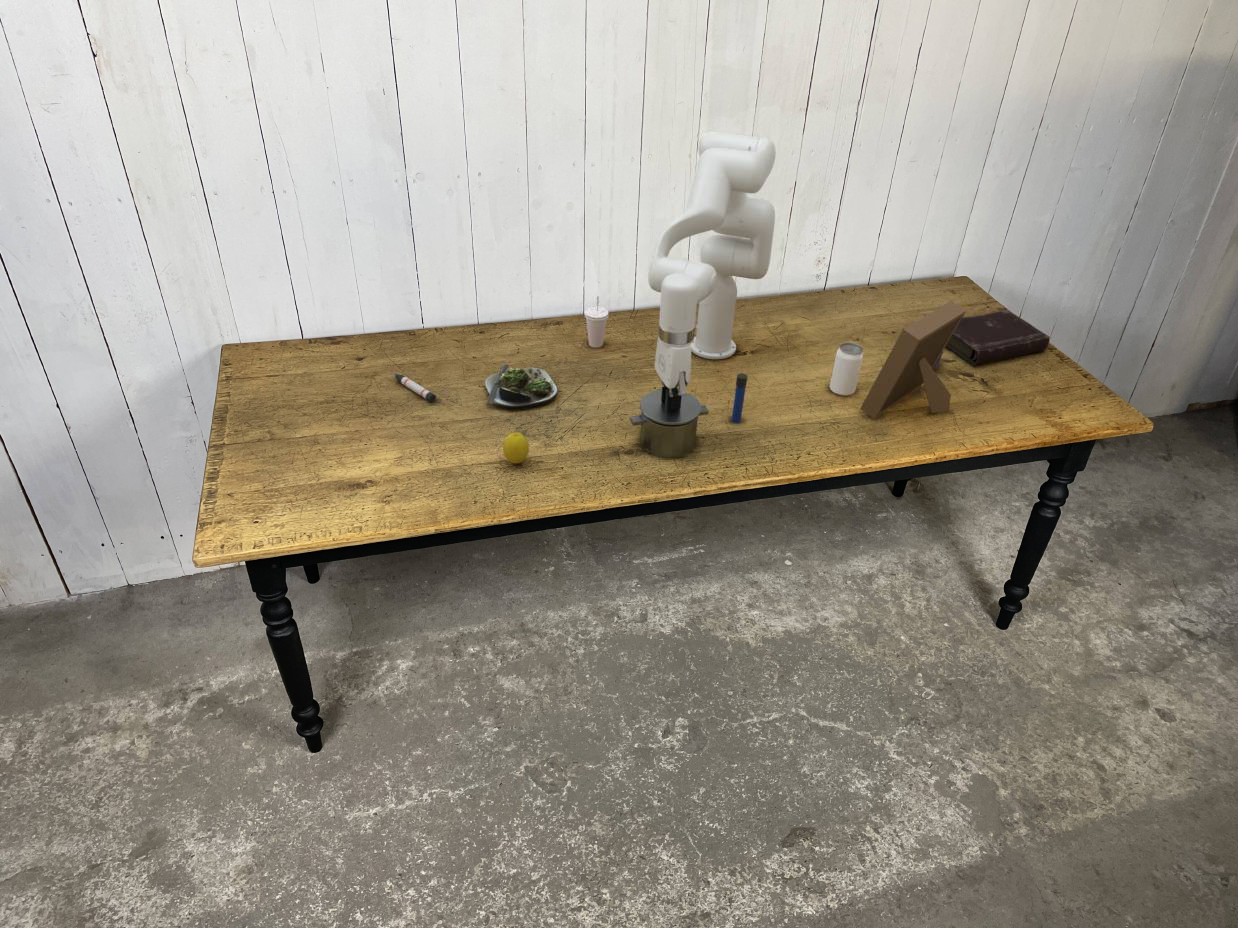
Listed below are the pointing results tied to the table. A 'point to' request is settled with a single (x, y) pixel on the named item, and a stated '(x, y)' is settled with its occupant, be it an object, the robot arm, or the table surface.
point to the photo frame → (915, 363)
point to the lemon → (515, 448)
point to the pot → (667, 436)
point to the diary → (995, 338)
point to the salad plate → (520, 388)
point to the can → (846, 369)
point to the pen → (739, 397)
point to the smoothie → (596, 324)
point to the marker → (415, 387)
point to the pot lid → (659, 413)
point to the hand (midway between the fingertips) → (670, 404)
